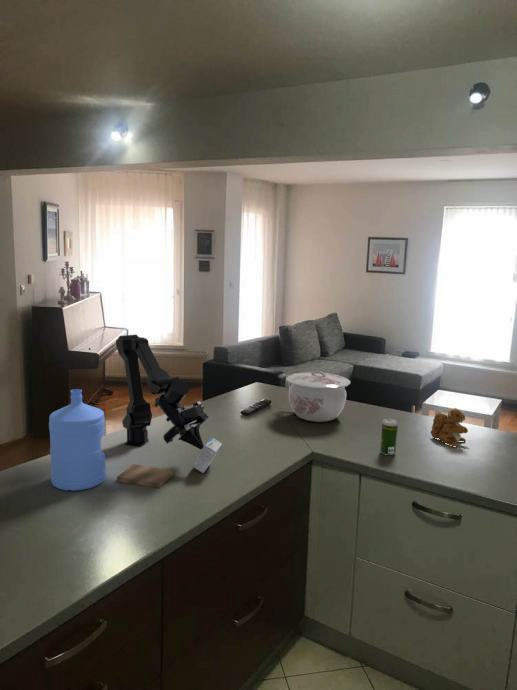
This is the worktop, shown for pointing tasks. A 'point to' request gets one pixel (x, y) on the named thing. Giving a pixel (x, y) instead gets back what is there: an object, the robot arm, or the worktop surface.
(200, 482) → the worktop surface
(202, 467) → the medicine box
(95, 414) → the water jug
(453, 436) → the stuffed squirrel
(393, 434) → the beer can
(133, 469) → the walnut cutting board
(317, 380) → the chamber pot
